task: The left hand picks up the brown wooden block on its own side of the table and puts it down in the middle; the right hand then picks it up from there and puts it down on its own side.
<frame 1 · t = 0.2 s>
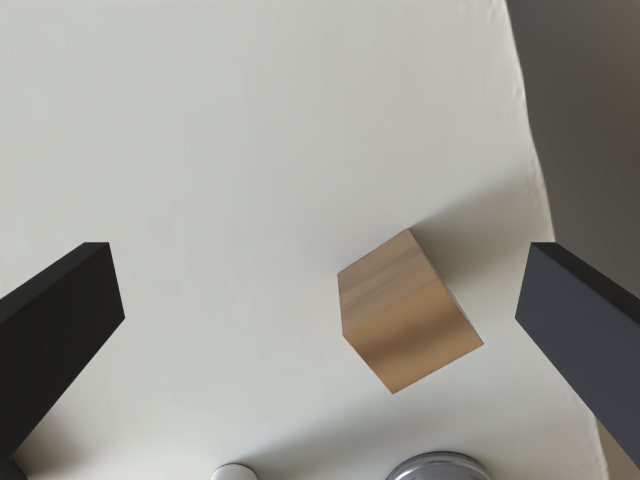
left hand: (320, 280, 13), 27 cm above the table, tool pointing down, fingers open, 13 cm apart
coffee cup: (235, 478, 55), on the table
brown wooden block: (391, 277, 43), on the table
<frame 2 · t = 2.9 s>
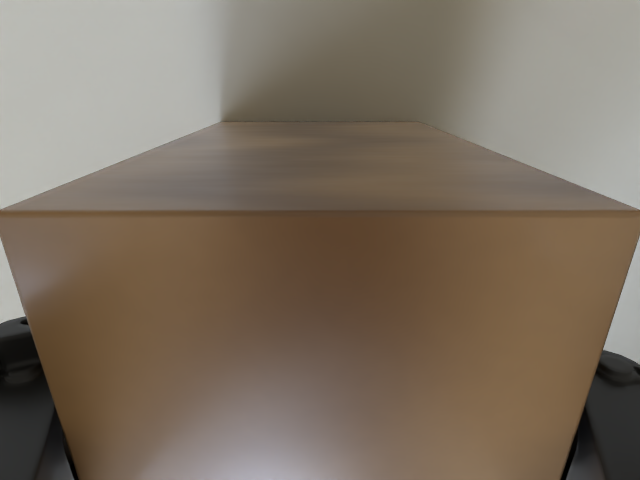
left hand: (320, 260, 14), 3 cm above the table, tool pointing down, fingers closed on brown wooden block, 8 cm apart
brown wooden block: (319, 232, 17), on the table, touching left hand
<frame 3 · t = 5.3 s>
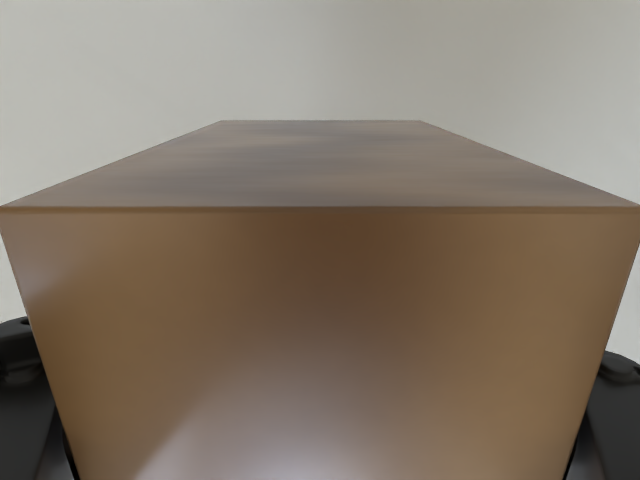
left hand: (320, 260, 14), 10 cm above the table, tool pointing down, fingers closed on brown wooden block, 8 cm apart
brown wooden block: (320, 231, 17), point 7 cm above the table, touching left hand
when the left hand's fingers open (5 cm above the table, at t = 8.1 s): brown wooden block drops 2 cm, on the table.
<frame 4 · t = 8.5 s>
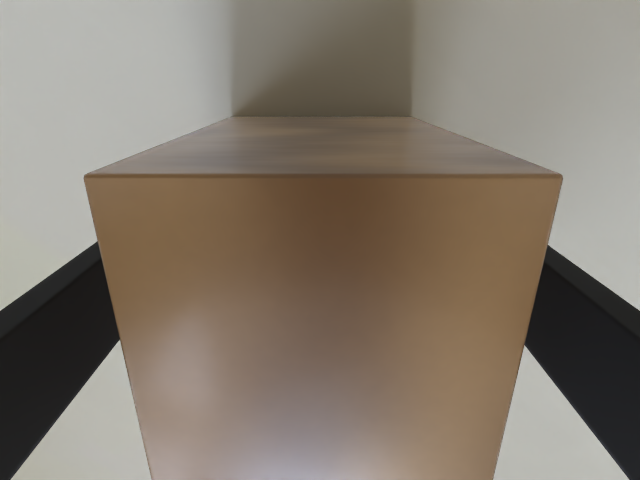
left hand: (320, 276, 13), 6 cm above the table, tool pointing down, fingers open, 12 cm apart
brown wooden block: (321, 217, 18), on the table
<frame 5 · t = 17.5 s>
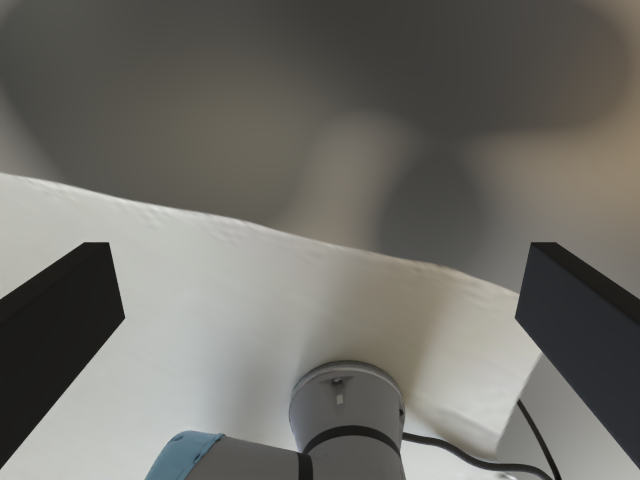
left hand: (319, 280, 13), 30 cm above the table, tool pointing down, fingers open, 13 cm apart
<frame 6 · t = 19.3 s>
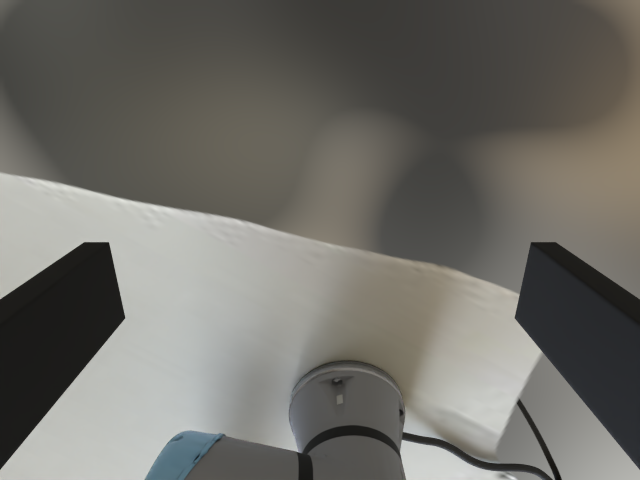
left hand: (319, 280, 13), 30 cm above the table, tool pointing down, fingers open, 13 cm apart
when the right hand's fingers open (5 cm above the table, at t = 21.6 s): brown wooden block drops 2 cm, on the table.
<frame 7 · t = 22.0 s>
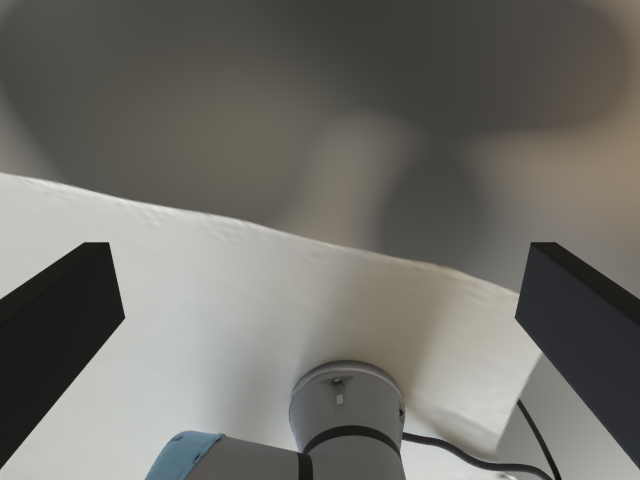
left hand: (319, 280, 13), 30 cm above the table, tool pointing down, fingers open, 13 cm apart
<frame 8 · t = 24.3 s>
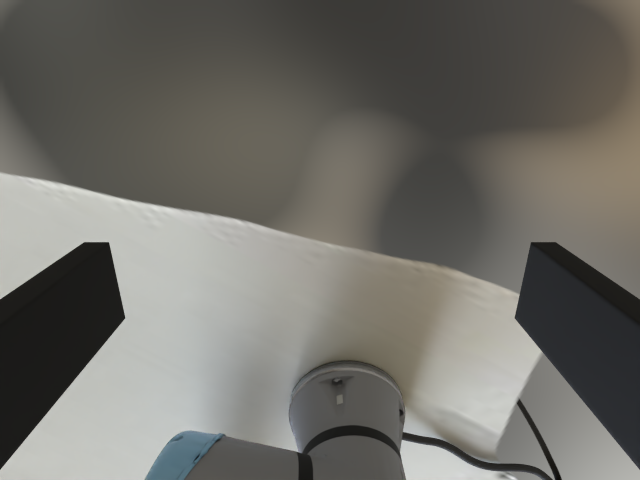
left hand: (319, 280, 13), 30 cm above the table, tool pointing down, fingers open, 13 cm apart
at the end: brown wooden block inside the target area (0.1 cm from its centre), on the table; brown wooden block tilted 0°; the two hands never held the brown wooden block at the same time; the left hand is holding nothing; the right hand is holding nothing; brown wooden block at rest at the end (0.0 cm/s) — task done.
